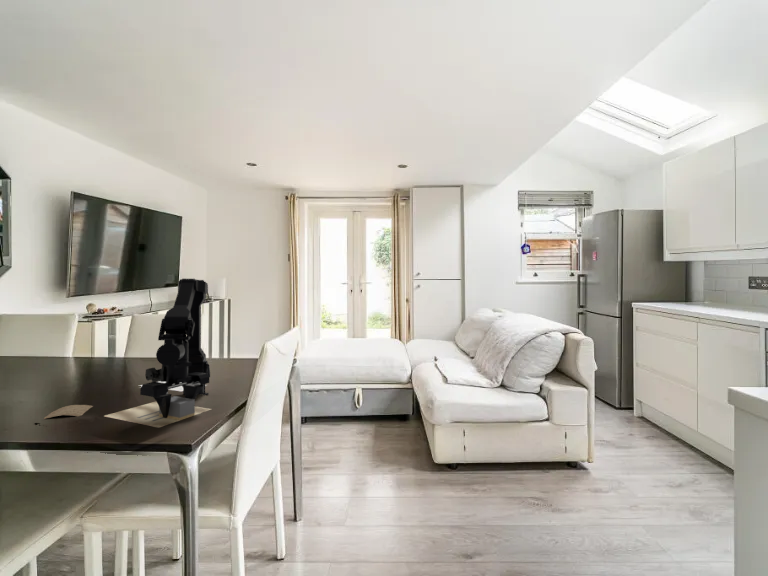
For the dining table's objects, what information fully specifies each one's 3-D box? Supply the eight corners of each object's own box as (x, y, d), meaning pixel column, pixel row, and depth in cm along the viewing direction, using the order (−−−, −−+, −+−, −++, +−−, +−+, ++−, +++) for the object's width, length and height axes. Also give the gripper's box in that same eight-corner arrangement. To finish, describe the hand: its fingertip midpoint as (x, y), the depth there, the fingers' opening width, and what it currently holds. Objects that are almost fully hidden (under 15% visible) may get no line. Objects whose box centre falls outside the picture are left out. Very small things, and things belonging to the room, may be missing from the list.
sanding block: (174, 411, 124) (174, 396, 124) (194, 415, 121) (194, 399, 121) (159, 416, 120) (159, 400, 120) (179, 420, 117) (180, 403, 117)
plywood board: (159, 404, 136) (159, 400, 136) (211, 413, 127) (212, 409, 127) (103, 420, 120) (103, 415, 120) (158, 432, 111) (158, 427, 111)
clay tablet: (102, 411, 130) (102, 402, 130) (92, 421, 120) (92, 411, 120) (45, 416, 125) (45, 406, 125) (30, 427, 115) (30, 417, 115)
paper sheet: (210, 388, 158) (210, 386, 157) (121, 407, 136) (121, 404, 136) (184, 378, 174) (184, 375, 174) (101, 393, 153) (101, 390, 152)
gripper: (183, 352, 132) (183, 402, 132) (126, 361, 115) (126, 419, 115) (210, 354, 128) (210, 406, 128) (155, 365, 111) (155, 425, 111)
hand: (176, 414), depth 121 cm, fingers open, 7 cm apart
